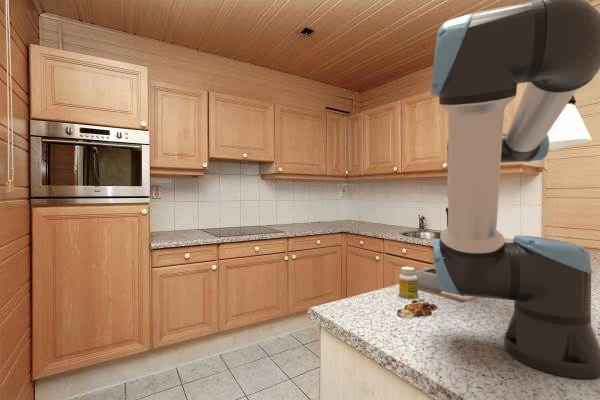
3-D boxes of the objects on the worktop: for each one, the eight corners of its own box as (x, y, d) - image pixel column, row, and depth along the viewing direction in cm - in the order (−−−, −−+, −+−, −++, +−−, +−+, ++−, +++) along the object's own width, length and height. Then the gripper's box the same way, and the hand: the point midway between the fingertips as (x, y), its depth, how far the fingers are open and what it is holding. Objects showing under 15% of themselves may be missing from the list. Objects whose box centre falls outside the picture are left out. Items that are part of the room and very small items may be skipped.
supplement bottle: (408, 295, 98) (408, 265, 97) (421, 300, 93) (421, 268, 93) (395, 297, 95) (395, 267, 95) (408, 303, 90) (408, 271, 90)
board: (463, 306, 87) (463, 302, 87) (406, 289, 103) (406, 286, 103) (490, 294, 96) (489, 291, 96) (434, 281, 112) (434, 278, 112)
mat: (466, 301, 88) (466, 299, 88) (440, 293, 95) (440, 292, 95) (483, 294, 94) (483, 292, 94) (458, 287, 101) (458, 286, 101)
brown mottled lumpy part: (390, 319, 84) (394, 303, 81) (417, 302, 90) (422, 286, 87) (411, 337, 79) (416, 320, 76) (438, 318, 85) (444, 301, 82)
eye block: (441, 292, 96) (441, 277, 96) (413, 285, 104) (413, 270, 104) (458, 286, 102) (458, 272, 101) (430, 280, 110) (430, 266, 110)
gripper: (457, 186, 86) (458, 268, 86) (488, 185, 96) (488, 259, 96) (433, 186, 92) (434, 263, 92) (464, 186, 102) (464, 256, 102)
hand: (461, 261), depth 94 cm, fingers closed on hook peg, 5 cm apart
